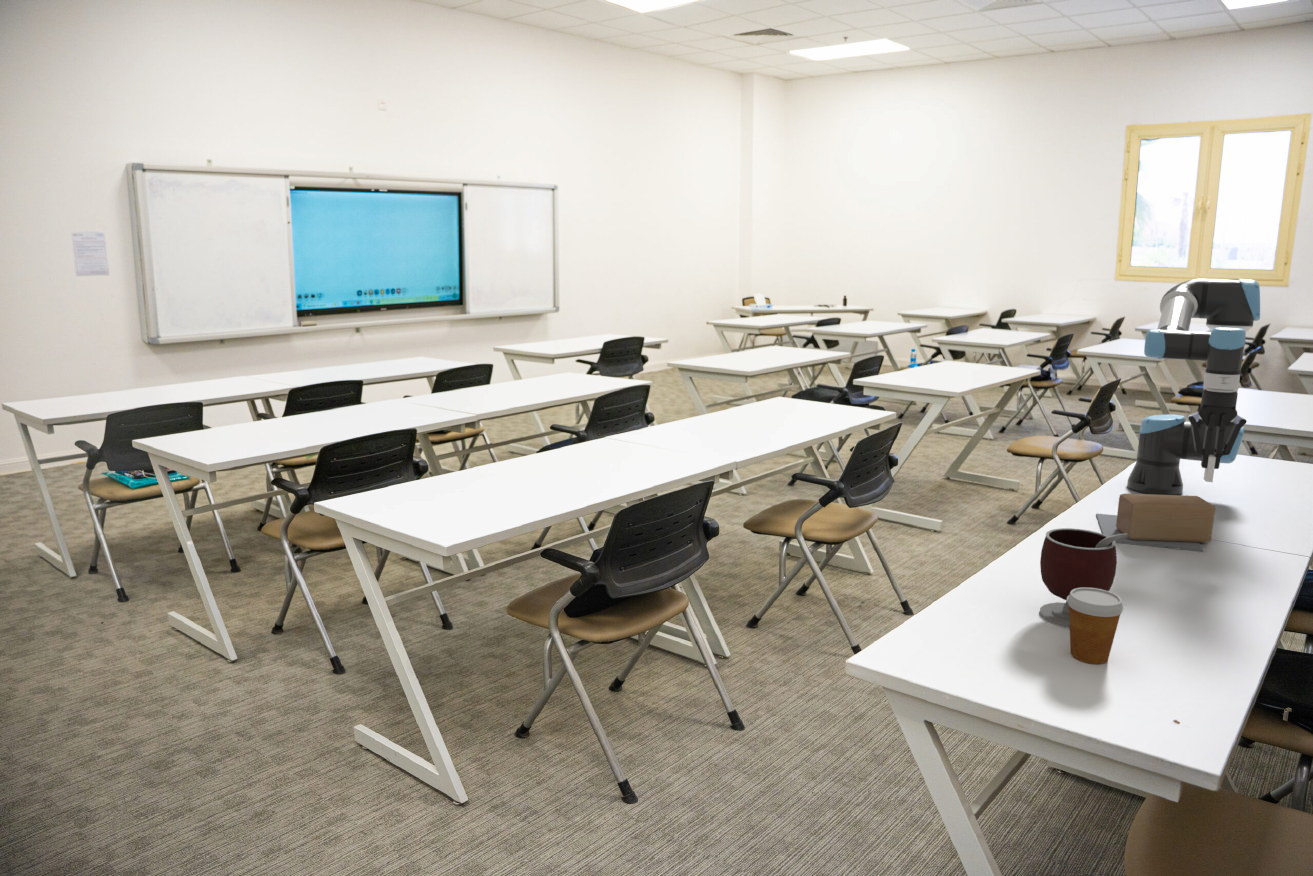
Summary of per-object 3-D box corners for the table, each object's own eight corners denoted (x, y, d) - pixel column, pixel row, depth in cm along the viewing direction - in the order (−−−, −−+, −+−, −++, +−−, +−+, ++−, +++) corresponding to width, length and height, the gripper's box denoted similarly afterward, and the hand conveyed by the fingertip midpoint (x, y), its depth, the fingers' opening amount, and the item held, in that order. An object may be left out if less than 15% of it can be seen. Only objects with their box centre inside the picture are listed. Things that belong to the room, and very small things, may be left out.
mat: (1096, 515, 250) (1096, 513, 250) (1185, 523, 242) (1185, 521, 242) (1104, 541, 228) (1105, 539, 228) (1203, 551, 221) (1203, 549, 220)
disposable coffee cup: (1051, 646, 169) (1057, 587, 167) (1099, 644, 170) (1105, 585, 167) (1078, 669, 160) (1085, 607, 157) (1129, 667, 161) (1136, 605, 158)
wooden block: (1199, 495, 232) (1118, 492, 235) (1217, 506, 223) (1133, 503, 225) (1194, 531, 234) (1114, 528, 237) (1212, 543, 225) (1128, 540, 227)
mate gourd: (1025, 618, 182) (1033, 525, 178) (1049, 598, 192) (1058, 510, 188) (1105, 640, 172) (1117, 542, 167) (1127, 618, 182) (1138, 525, 177)
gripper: (1193, 390, 221) (1181, 481, 227) (1254, 393, 217) (1241, 486, 222) (1187, 386, 228) (1176, 474, 233) (1246, 388, 224) (1234, 479, 229)
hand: (1208, 480), depth 228 cm, fingers closed
